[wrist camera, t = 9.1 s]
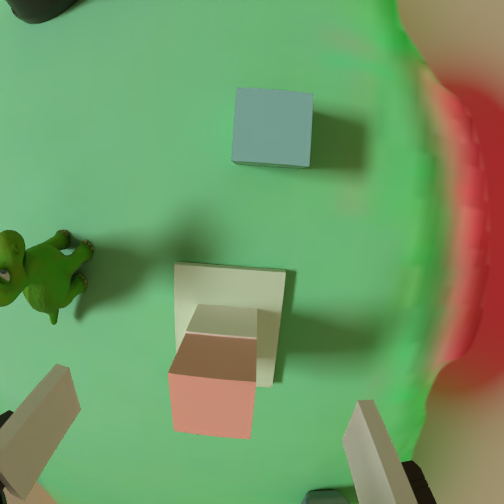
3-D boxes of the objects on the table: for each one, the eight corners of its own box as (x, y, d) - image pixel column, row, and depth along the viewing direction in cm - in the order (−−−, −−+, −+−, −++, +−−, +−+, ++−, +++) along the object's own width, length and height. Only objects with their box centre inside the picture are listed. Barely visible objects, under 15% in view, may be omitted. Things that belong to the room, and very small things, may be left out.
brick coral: (185, 333, 25) (168, 372, 19) (256, 339, 25) (256, 381, 19) (187, 387, 27) (174, 430, 21) (251, 393, 27) (250, 439, 21)
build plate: (176, 261, 31) (155, 283, 24) (285, 269, 31) (292, 294, 24) (179, 374, 34) (165, 411, 28) (271, 382, 34) (274, 422, 28)
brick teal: (240, 104, 28) (236, 87, 22) (302, 109, 28) (313, 93, 22) (236, 164, 29) (231, 160, 23) (299, 168, 29) (309, 166, 23)
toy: (103, 222, 30) (9, 256, 16) (81, 327, 33) (12, 395, 19) (62, 203, 30) (-35, 225, 15) (45, 306, 33) (-29, 361, 18)
